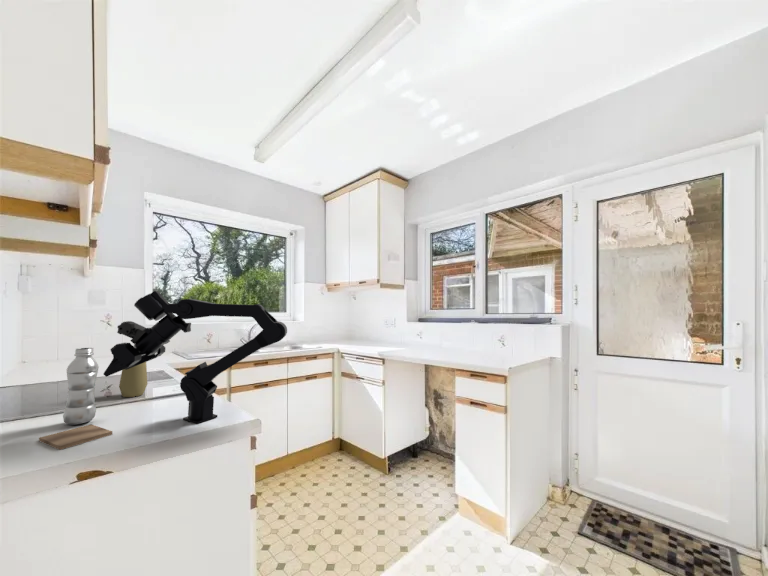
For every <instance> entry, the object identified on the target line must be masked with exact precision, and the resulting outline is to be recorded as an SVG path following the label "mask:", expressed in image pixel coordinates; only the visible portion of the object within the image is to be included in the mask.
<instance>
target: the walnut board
mask: <svg viewBox="0 0 768 576" xmlns="http://www.w3.org/2000/svg"><path fill="white" fill-rule="evenodd" d="M112 435H113V430H109V429H106V428H104V427H100V426H97V425H94V424H88V425H87V424H86V425H83V426H79V427H75V428H71V429H67V430H63V431H60V432H55V433H51V434H47V435H44V436H40V437H38V442H40V441H41V442H40V443H42V442H43V443H42V444H44V445H47V446H50V447H52V448H55V449H56V450H59V451H60V450H65V449H68V448H72V447H75V446H78V445H82V444H85V443H88V442H91V441H95V440H98V439H102V438H105V437H109V436H112Z"/></svg>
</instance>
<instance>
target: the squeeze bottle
mask: <svg viewBox="0 0 768 576" xmlns="http://www.w3.org/2000/svg"><path fill="white" fill-rule="evenodd" d="M132 346H133V347H134V348H136V347H135V344H133V345H132ZM147 387H148V371H147V362H144V363H142V364H139V365H137V366H135V367H132V368H130V369H127V370H125V369H124V370H121V374H120V380H119V385H118V388H119V390H120V394H121V396H122V397H123V398H135V396H136V397H139V396H142V395H144V393H145V391H146V388H147Z"/></svg>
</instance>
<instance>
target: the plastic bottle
mask: <svg viewBox="0 0 768 576" xmlns="http://www.w3.org/2000/svg"><path fill="white" fill-rule="evenodd" d="M74 352H75V354H74V357H75V358H74V359H73V360H72V361H71V362H70V363H69V365H68V366H67V367H66V379H67V389H68V390H67V399H66V404H65V408H64V410H63V415H62V419H63V422H64V423H65V424H66V425H69V426H70V425H71V426H72V425H81V424H85V423H88V422H90V421H92V420H94V418H95V416H96V413H97V409H96V408H97V407H96V403H95V402H96V401H95V388H96V387H95V386H96V381H97V376H98V373H99V367H100V366H99V364H98V362H97V361H96V359H94V358H93V356H94V347H79V348H75V351H74Z"/></svg>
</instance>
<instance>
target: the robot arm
mask: <svg viewBox="0 0 768 576" xmlns="http://www.w3.org/2000/svg"><path fill="white" fill-rule="evenodd" d="M134 307H135V308H136V309H137V310H138V311H139V312H140V313H141V314H142V315H143V316H144V317H145V318H146V319H147V320H148V321H153V320H154V321H157V322H156V323H155V324H154V325H152V326H151V327H146V326H144V325H141V324H139V323H136V322H134V321H131V320H127V321H122V322H121V323H120V324H118V325H117V331H116V333H117V334H119V335H123V336H125V337H128V338H130V340H129V341H130V342H131V343H132V344H133V345H132V344H131V343H130V342H121V343H116V344H115V345H114V346H112V347H111V348H110V349H109V350H110V352H111V354H112V360H111V362H110V363H109V364H108V366H107V367H106V369H105V370H104V372H103V376H105V377H109V376H112V375H115V374H117V373H119V372H122V370H124V369H125V370H127V369H130V368H132V367H135V366H137V365H139V364H142V363H144V362H146V363H147V362H149V361H152V360H154V359H156V358H159V357H161V356H162V355H163V354H164V353H166V346H164V345H166V344H168V343H170V342H171V339H172V338H174V337H175V336H176V335H177V334H178V333H179V332H181V331H183V333H190V332H191V331H192V323H191V322H186V321H185V320H190V319H200V318H206V317H238V318H239V317H242V318H252V319H254V320H255V322H256V323H257V324H258V325H259V327H260V328H261V329H262V330H260V332H259V333H258V334H256V336H254V338H252V339H250V340H249V341H248V342H246V343H244V344H242V345H241V346H238V348H236V349H234V350H233V351H231V352H229V353H227V354H226V355H225V356H223V357H221V358H219V359H218V360H216V361H214V362H212V363H211V364H207V362H206V361H204V362H202V363H200V364H198V365H197V366H195V367H194V368H192V369H190V370H188V371H186V372H185V373H184V374H185V375H184V376H183V377H182V378H181V379H180V382H179V386H180V390H181V391H182V392H183V394H185V397H186V401H187V402H188V407H187V409H188V411H187V412H188V413H187V416H184V417H183V418H182V421H187V422H190V423H194V424H201V423H203V422H207V421H209V420H212V419H215V418H218V414H215V413H214V406H215V405H214V403H215V402H214V401H215V400H214V399H215V397H214V396H213V394H215V393H216V390H217V388H218V385H217V384H216V383H215V382H213V381H214V379H216V378H217V377H218V376H219V375H221V373H223V372H225V371H226V370H228V369H229V368H232V366H235V365H236V364H237V363H240V362H241V361H242V360H244V359H246V358H247V357H249V356H251V355H253V354H254V353H256V352H257V351H259V350H261V349H263V348H266V347H269V346H270V345H273V344H275V343H278V342H281V340H283V339H284V338H285V337H286V336H287V333H288V328H287V326H286V324H285V323H284V322H282V321H278V320H277V319H276V318H275V317H274V316H273V315H272V314H270V313H269V312H268V311H267V310H266V308H265V307H264V306H263V304H260V303H258V304H255V303H254V304H236V303H213V302H211V301H206V300H199V299H197V298H196V299H194V298H193V299H191V298H183V299H181V300H179V301H178V302H177V303H170V302H169V301H168V300H167V299H166V298H165V297H164V296H163V295H162V294H161V292H159V290H153V291H152V292H151V293H148V294H146V295H144V296H142V297H140V298H138V300H136V302H135V303H134ZM176 315H177V316H176ZM134 344H135V347H136V348H134V347H133V346H134Z"/></svg>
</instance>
